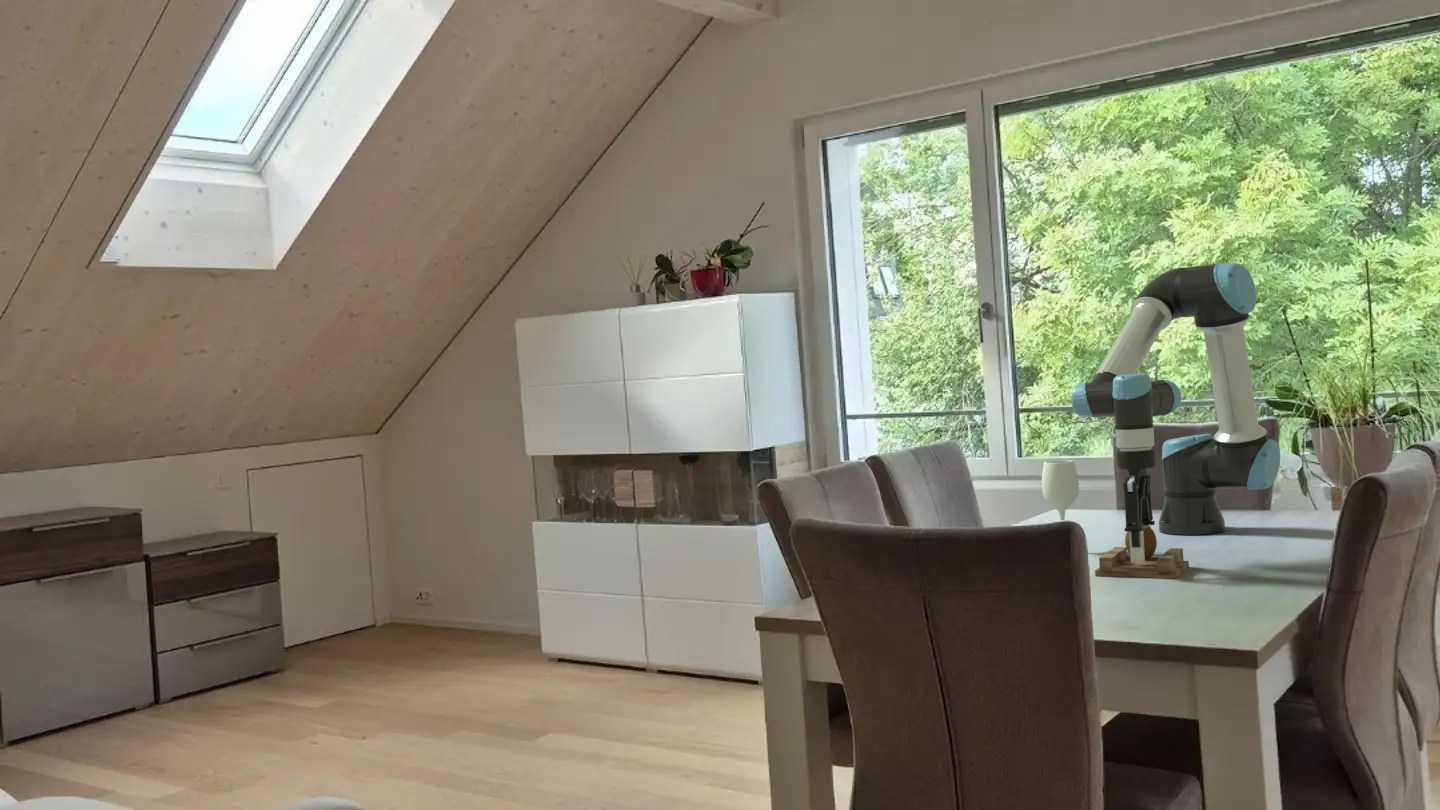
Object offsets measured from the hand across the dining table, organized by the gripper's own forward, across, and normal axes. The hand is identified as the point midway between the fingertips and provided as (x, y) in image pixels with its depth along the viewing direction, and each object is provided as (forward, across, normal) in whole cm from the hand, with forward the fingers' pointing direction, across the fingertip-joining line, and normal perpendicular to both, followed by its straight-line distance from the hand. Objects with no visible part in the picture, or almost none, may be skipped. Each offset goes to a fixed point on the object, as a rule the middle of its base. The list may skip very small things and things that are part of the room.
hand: (1141, 559), depth 259 cm
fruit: (+1, 0, 0) cm, 1 cm away
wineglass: (+3, -20, -22) cm, 30 cm away
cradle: (+3, 0, 0) cm, 3 cm away
